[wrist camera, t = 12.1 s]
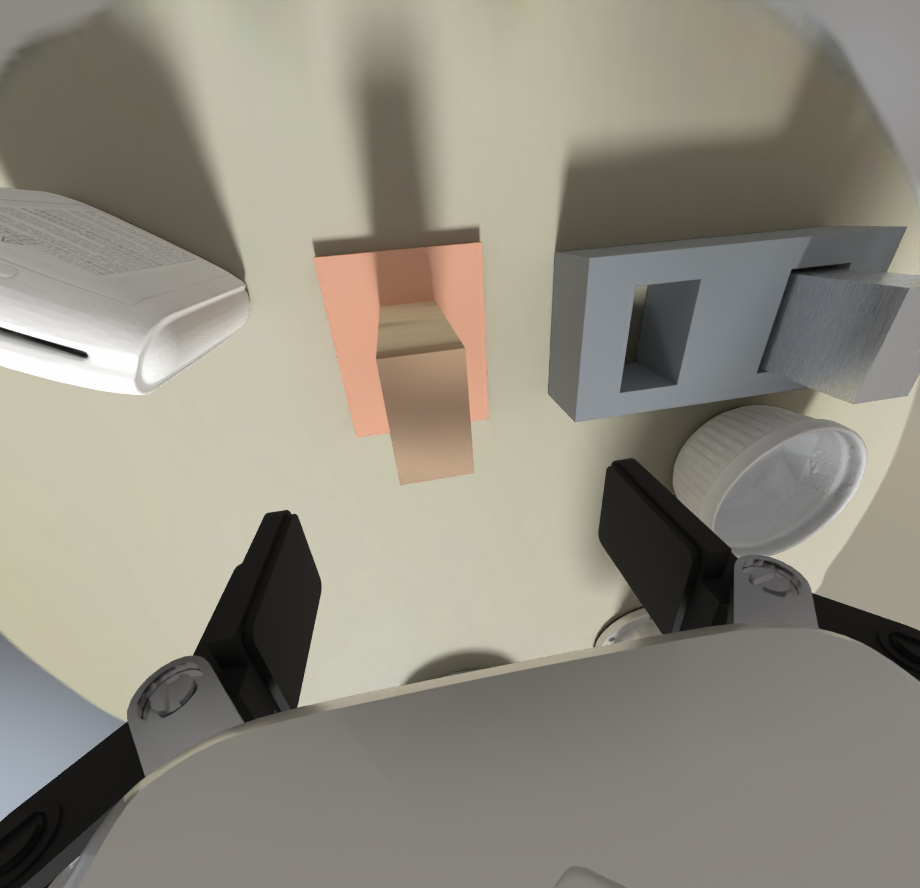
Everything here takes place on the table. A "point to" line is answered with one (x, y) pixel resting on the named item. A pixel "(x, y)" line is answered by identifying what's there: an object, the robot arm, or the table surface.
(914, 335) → the steel plug
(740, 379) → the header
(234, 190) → the table surface
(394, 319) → the beech plug
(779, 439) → the ramekin
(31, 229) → the photo printer
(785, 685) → the robot arm
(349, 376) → the mat
